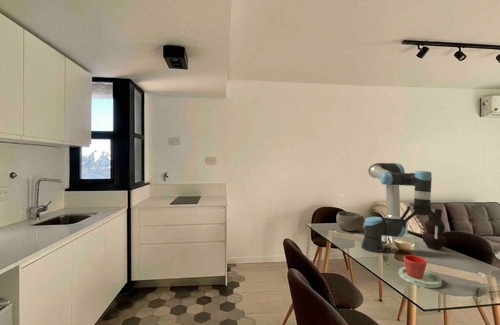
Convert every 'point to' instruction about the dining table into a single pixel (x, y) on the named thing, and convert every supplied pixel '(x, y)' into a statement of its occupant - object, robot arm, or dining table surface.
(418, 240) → the dining table surface
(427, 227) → the vase
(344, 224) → the bowl
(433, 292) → the dining table surface
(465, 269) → the dining table surface
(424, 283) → the round tray
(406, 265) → the flower pot
